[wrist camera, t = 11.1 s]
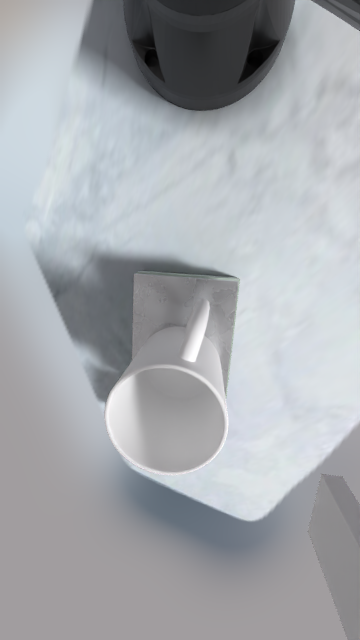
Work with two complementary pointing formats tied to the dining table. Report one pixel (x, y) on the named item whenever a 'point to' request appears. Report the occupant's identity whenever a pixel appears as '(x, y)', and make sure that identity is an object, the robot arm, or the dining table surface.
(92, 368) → the dining table surface
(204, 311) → the cup
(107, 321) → the dining table surface
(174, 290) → the speckled metal plate
